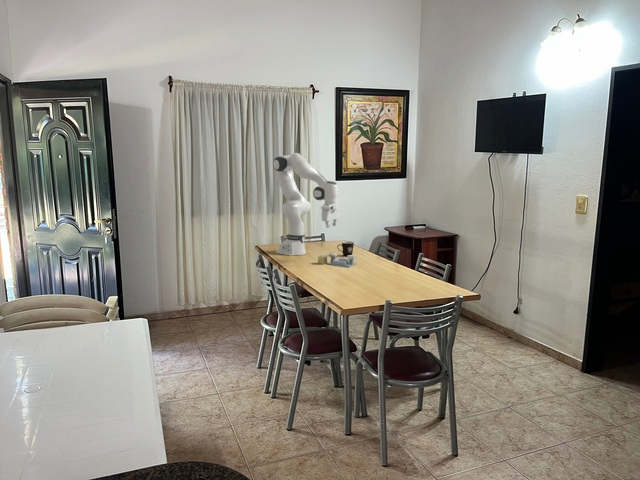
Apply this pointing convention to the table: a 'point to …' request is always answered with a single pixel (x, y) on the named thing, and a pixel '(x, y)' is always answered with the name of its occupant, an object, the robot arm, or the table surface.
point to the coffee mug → (347, 248)
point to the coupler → (322, 260)
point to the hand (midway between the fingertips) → (331, 226)
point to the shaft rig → (342, 261)
